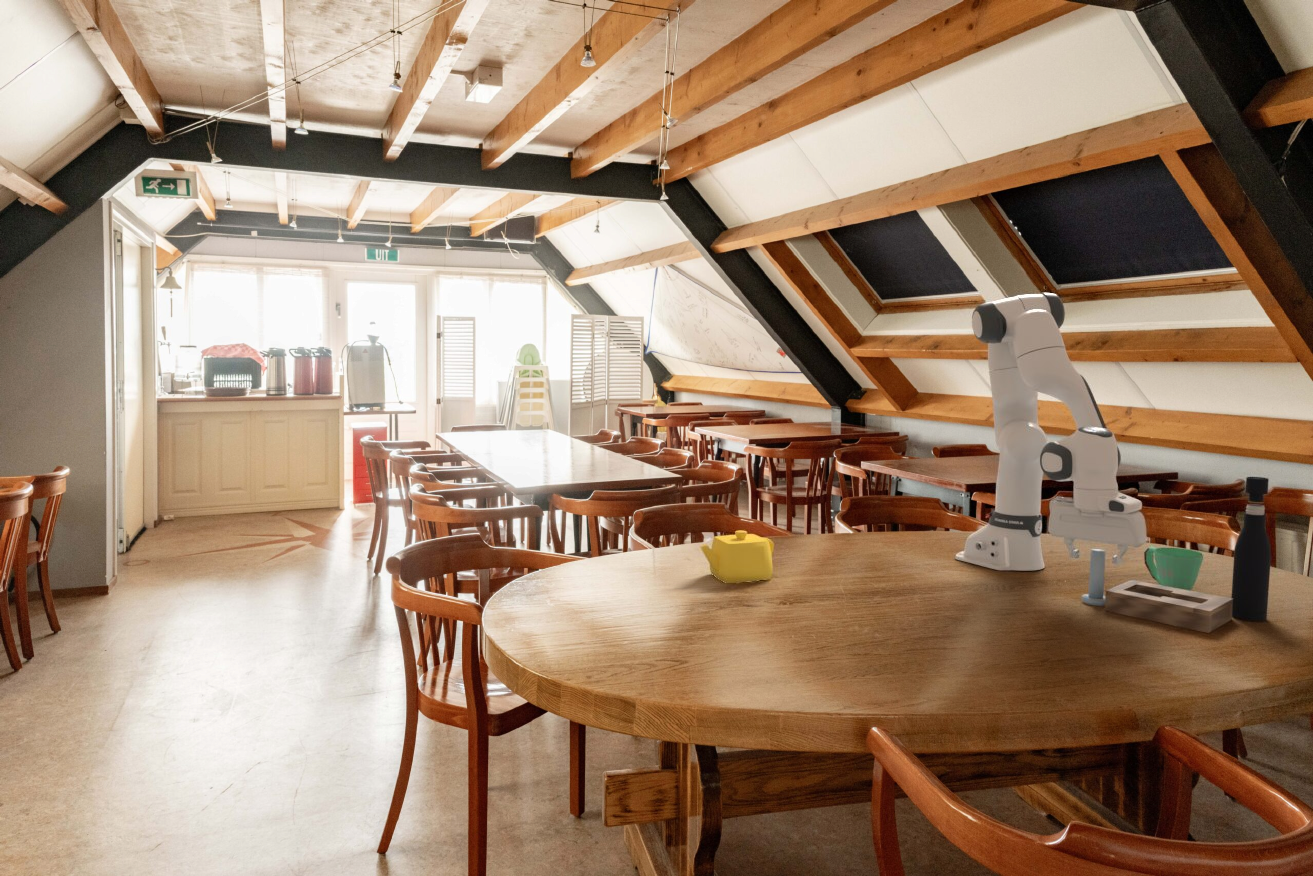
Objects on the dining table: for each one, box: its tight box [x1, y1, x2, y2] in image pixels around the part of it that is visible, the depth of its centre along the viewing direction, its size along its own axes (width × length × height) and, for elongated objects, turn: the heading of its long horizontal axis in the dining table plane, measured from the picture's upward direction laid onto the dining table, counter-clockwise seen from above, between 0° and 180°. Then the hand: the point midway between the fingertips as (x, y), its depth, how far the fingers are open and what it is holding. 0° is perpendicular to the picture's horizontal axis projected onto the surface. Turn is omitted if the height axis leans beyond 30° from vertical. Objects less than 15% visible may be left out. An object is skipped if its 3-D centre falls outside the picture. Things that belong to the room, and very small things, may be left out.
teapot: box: [699, 530, 775, 584], centre depth 214 cm, size 20×12×12 cm, turn 109°
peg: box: [1081, 548, 1107, 607], centre depth 191 cm, size 6×6×12 cm
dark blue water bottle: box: [1230, 476, 1272, 623], centre depth 180 cm, size 6×6×30 cm
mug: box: [1143, 545, 1204, 591], centre depth 201 cm, size 15×10×10 cm
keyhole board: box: [1104, 579, 1233, 634], centre depth 182 cm, size 20×14×4 cm
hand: (1095, 560), depth 191 cm, fingers open, 8 cm apart
